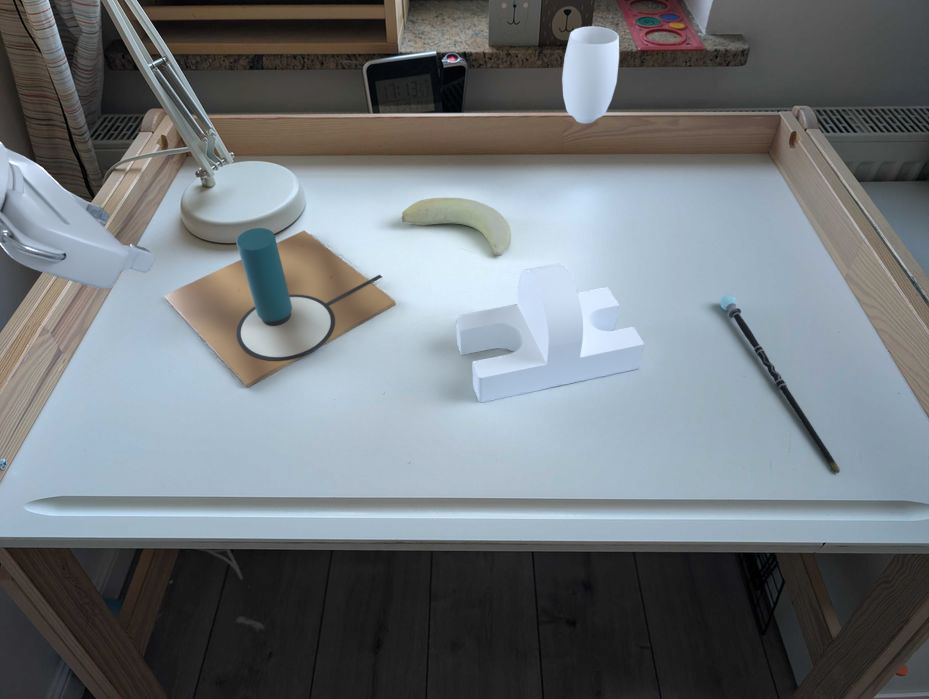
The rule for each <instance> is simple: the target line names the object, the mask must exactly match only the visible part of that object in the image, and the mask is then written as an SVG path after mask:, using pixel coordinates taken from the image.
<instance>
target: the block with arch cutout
mask: <svg viewBox="0 0 929 699" xmlns="http://www.w3.org/2000/svg"><path fill="white" fill-rule="evenodd" d="M516 296H517V298H516V303H515V304H509V305H505V306H499V307H494V308H489V309H484V310H483V309H482V310H478V311H474V312H473V311H472V312H468V313H463V314H459V315H457V316H456V318H455V324H456V345H457V348H458V351H459V354H460V356H465V355H469V354H475V353H479V352H483V351H484V352H485V351H489V350H494V349H502V350H503V349H504V350H508V351H510V352H511V353H508V354H503V355H498V356H493V357H492V356H491V357H488V358H484V359H483V358H482V359H478V360H473V361H471V362H472V388H473V391H474V394H475V396H476V398H477V402H479V403H487V402H490V401H491V402H492V401H496V400H501V399H505V398H509V397H515V396H519V395H523V394H528V393H529V394H530V393H534V392H538V391H542V390H546V389H550V388H555V387H560V386H565V385H568V384H574V383H579V382H583V381H588V380H594V379H598V378H602V377H607V376H612V375H616V374H621V373H625V372H630V371H634V370H639V369H640V367H641V364H642V363H641V362H642V359H643V355H644V354H643V353H644V350H645V345H646V344H645V342H644V341H643V339H642V338H641V336H640V334H639V333H638V331H637V330H636V328H635V327H634V326H629V327H624V328H619V329H616V327H617V322H618V321H617V320H618V316H619V310H620V304H619V302H618V301H617V299H616V297H615V296H614V295H613V293H612V291H611V290H610V288H609V287H608V286H605V287H600V288H595V289H589V290H584V291H579V292H578V290H577V287H576V284H575V281H574V279H573V277H572V276H571V273H570V271H569V270H568V269H567V268H566V266H565V265H563V264H562V263H553V264H547V265H542V266H536V267H531V268H525V269H523V270H521V272H520V274H519V277H518V281H517V295H516Z"/></svg>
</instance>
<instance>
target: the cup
mask: <svg viewBox="0 0 929 699" xmlns="http://www.w3.org/2000/svg"><path fill="white" fill-rule="evenodd" d="M563 60H564V61H563V66H562V75H561V84H562V97H563V101H564V106H565V111H566V112H567V114H568V115H569V116H571V117H572V118H574V120H575V121H576V122H578V123H580V124H592V123H594V122H595V121H596V120H597V119H600V118H602V117H603V116H604V115H606V113H607V110H608V109H609V106H610V104H611V102H612V99H613V96H614V93H615V90H616V86H617V83H618V82H617V81H618V73H619V63H620V36H619V34H618V33H617V32H616V31H615V30H613V29H611V28H607V27H603V26H594V25H593V26H582V27H578V28H574V30H572V31H570V33H569V37H568V41H567V46H566V50H565V54H564V59H563Z"/></svg>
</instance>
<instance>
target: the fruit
mask: <svg viewBox="0 0 929 699" xmlns="http://www.w3.org/2000/svg"><path fill="white" fill-rule="evenodd" d="M401 219H402V222H403V223H406V224H410V225H411V224H412V225H415V226H428V225H440V224H457V225H463V226H467V227H471V228H473V229H476V230H477V231H479V232H480V233H482V235H484V236H485V238H486V239H487V242H488V243H489V245H490V247H491V250H492V254H493V256H495V257H501V256H502V255H503V253H504V252H505V251H506V250H507V249H508V248H509V247H510V244H511V240H512V229H511V226H510V224H509V222H508V221H507V219H506V218H505V217H504V216H503V215H502V214H501V213H500V212H499V211H498V210H496V209H495V208H493V207H492V206H490V205H488V204H486V203H483V202H480V201H478V200H473V199H468V198H462V197H432V198H426V199H421V200H419V201H416V202H414V203H413V204H411V205H409V206H408V207H407V208H405V210H403V211H402V213H401Z"/></svg>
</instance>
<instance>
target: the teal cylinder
mask: <svg viewBox="0 0 929 699" xmlns="http://www.w3.org/2000/svg"><path fill="white" fill-rule="evenodd" d="M275 236H276V235H275V233H274V232H273V231H272V230H271V229H268V228H264V227H257V228H256V227H255V228H251V229H248V230H246V231H243V232H242V233H240V234H239V235H238V236H237V239H236V241H235V242H236V243H235V244H236V247H237V250H238V254H239V256H240V260H242V264H243V267H244V270H245V274H246V277H247V281H248V284H249V287H250V291H251V294H252V298H253V301H254V305H255V308H256V311H257V315H258V316H259V318H261V319H262V321H263V323H265V324H266V325H269V326H278V325H282V324H284V323H286V322H287V321H288V320H289V319H290V317H291V310H292V304H291V300H290V296H289V292H288V288H287V284H286V280H285V276H284V272H283V267H282V263H281V259H280V255H279V251H278V247H277V243H278V242H277V239H276V237H275Z"/></svg>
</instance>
